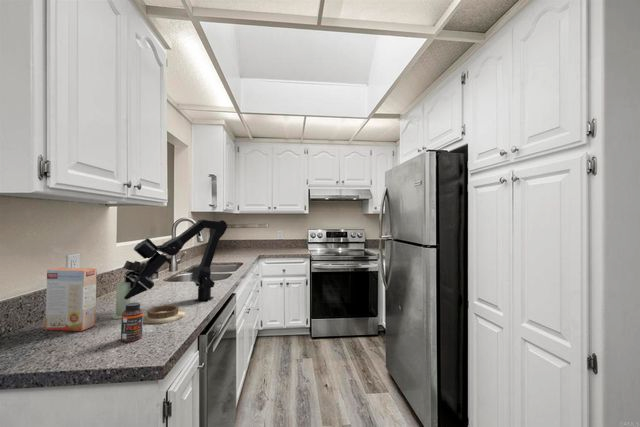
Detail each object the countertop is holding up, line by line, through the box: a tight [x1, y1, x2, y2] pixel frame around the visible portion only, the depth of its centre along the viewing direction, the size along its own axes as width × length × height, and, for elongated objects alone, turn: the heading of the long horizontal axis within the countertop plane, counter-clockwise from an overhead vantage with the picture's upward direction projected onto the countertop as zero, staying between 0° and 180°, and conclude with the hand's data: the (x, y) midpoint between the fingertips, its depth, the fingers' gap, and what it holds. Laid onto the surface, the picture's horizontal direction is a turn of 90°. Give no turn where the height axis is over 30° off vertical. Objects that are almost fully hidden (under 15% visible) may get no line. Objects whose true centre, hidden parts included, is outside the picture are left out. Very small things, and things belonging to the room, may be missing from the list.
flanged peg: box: [111, 282, 131, 320], centre depth 117 cm, size 7×7×13 cm
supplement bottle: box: [120, 301, 144, 343], centre depth 95 cm, size 6×6×11 cm
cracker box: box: [44, 267, 98, 332], centre depth 104 cm, size 14×6×21 cm, turn 84°
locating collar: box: [143, 304, 186, 325], centre depth 117 cm, size 16×16×3 cm
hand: (121, 296), depth 116 cm, fingers open, 9 cm apart
